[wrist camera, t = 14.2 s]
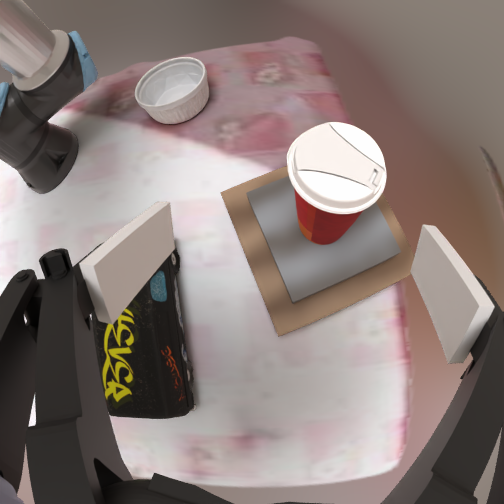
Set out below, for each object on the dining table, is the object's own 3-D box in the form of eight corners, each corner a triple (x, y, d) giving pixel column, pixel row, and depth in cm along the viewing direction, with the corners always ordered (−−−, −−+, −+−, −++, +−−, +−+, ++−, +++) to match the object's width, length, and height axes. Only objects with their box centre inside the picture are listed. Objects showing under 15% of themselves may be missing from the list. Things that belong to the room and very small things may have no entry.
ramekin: (178, 74, 51) (168, 51, 45) (228, 89, 48) (221, 63, 42) (136, 119, 50) (121, 97, 43) (184, 139, 47) (170, 115, 40)
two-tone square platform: (226, 203, 43) (215, 182, 36) (347, 156, 42) (354, 130, 35) (279, 335, 37) (277, 338, 31) (409, 274, 37) (430, 264, 30)
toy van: (179, 237, 43) (150, 214, 33) (202, 406, 36) (177, 429, 27) (119, 251, 43) (81, 233, 34) (137, 407, 37) (101, 424, 28)
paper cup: (365, 211, 33) (403, 146, 19) (335, 267, 32) (367, 227, 18) (307, 180, 34) (314, 103, 21) (275, 232, 33) (265, 173, 20)
